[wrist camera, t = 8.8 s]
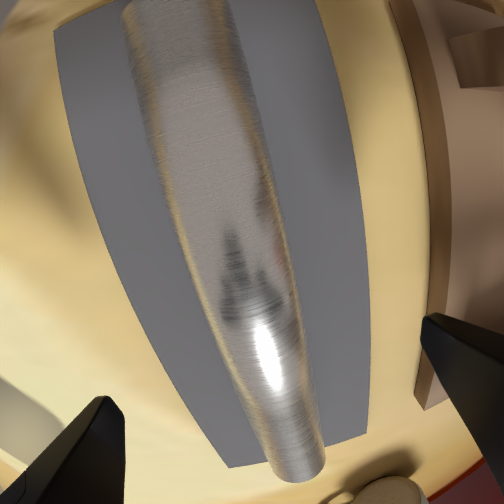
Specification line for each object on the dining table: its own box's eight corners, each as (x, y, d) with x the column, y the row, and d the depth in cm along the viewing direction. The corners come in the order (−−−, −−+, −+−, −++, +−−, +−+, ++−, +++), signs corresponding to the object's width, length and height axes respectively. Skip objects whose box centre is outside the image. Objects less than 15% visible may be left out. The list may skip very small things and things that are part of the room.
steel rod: (320, 434, 15) (329, 476, 12) (269, 444, 15) (273, 486, 12) (229, 12, 7) (224, -31, 4) (139, 39, 7) (102, 10, 5)
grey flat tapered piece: (363, 427, 16) (366, 433, 16) (228, 462, 16) (228, 468, 16) (296, -31, 7) (300, -37, 7) (59, 34, 7) (53, 30, 7)
